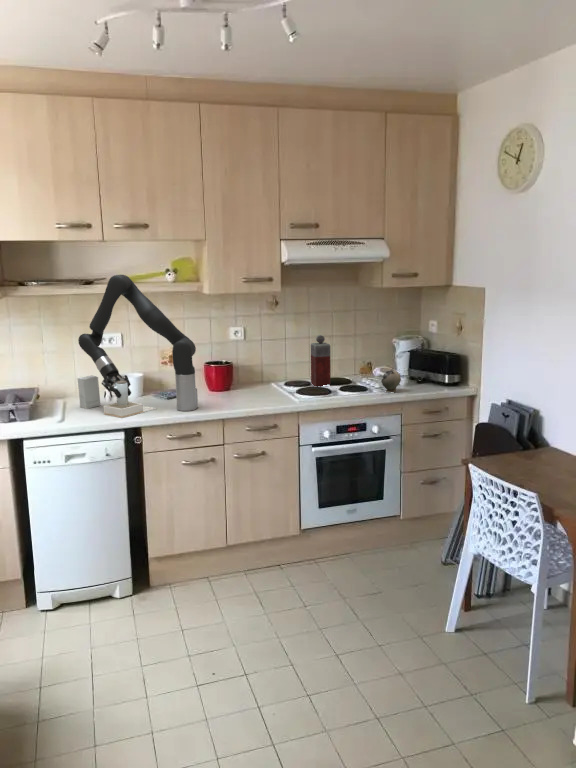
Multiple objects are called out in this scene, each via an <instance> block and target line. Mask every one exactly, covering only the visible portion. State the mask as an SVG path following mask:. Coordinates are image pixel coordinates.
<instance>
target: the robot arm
mask: <svg viewBox="0 0 576 768" xmlns="http://www.w3.org/2000/svg"><path fill="white" fill-rule="evenodd" d="M121 296H123V297H124V298H125V299H126V300H127V301H128V302H129V303H130V304H131V305H132V306H133V307H134V310H135V311H136V313H137V315H138V317H139V318H140V319H141V321H142V322H143V323H144V324H145V325H146V326H147V327H148V328H149V329H151V330H152V331H153V332H154V333H157V334H158V335H160V336H161V337H163V338H165V340H167V341H168V342H169V343H170V344H171V345H172V352H171V353H172V364H173V369H174V376H175V377H174V378H175V394H176V395H175V397H176V409H177V411H181V412H189V411H194V410H196V409H198V408H199V402H198V401H199V399H198V388H197V387H196V368H195V366H194V364H193V356H194V355H195V354H196V350H197V348H196V345H195V343H194V342H193V340H191V339H190V338H189V337H188V336H187V335H185V334H184V333H183V332H182V331H181V330H180V329H179V328H178V327H176V326H175V324H174V323H173V322H172V321H171V320H170V319H169V318H168V317H167V316H166V315H165V314H164V312H162V311H161V309H160V308H159V307H157V306H156V305H155V304H154V303H153V302H152V301H151V300H150V299H149V298H148V296H146V295H145V294H144V293H143V292H141V290H140V289H139V288H138V286H137V285H136V284H135V283H134V281H133V280H132V279H131V278H130V277H129V276H128V275H126V274H116V275H112V276H111V277H110V278H109V280H108V282H107V284H106V287H105V291H104V293H103V296H102V299H101V301H100V304H99V305H98V308H97V309H96V312H95V314H94V316H93V317H92V320H91V321H90V323H89V329H90V330H91V331H92V332H91V333H82V334H80V335H79V337H78V341H77V342H78V345H79V347H80V348H81V350H82V351H83V352H84V353H85V354H86V355H88V356H89V358H91V360H92V361H93V363H94V365H95V366H96V368H97V370H98V372H99V373H100V375H101V376H102V378H103V380H102V381H101V385H102V386H103V387H104V388H105V389H106V390H107V392H108V393H111V392H112V393H113V394H114V395H115V397H116V398H117V397H118V398H120V397H121V394H120V392H119V391H118V389H117V387H116V383H117V381H120V380H125V381H126V382H127V385H128V397H129V396H131V394H132V391H131V389H130V386H131V385H132V384H131V381H130V379H129V377H128V375H124V376H123V375H121V374H120V372H119V369H118V368H117V366H116V365H115V363H114V362H113V360H112V359H111V358H110V357H109V355H108V354H107V352H106V350H104V348H102V347H100V345H101V344H102V341H103V337H104V331H105V329H107V326H108V324H109V322H110V320H111V317H112V314H113V309H114V306H115V305H116V303H117V301H118V299H120V297H121Z"/></svg>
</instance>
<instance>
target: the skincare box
mask: <svg viewBox="0 0 576 768" xmlns="http://www.w3.org/2000/svg"><path fill="white" fill-rule="evenodd" d="M77 386H78V387H77V389H78V397H79V406H80V408H82V409H85V410H86V409H91V408H96V407H100V406H101V396H100V386H99V376H97V375H96V376H95V375H87V376H82V377H81V376H80V377H78V378H77Z"/></svg>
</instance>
